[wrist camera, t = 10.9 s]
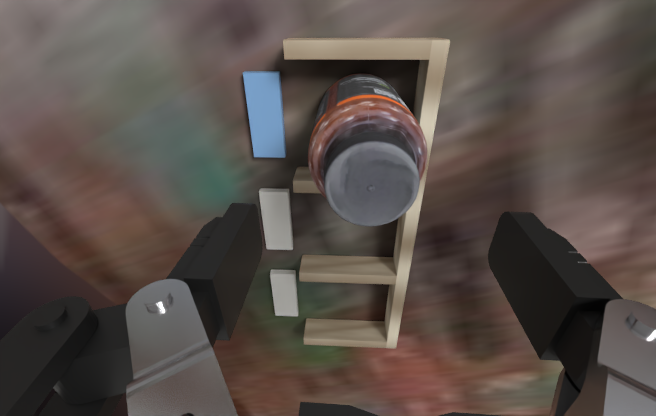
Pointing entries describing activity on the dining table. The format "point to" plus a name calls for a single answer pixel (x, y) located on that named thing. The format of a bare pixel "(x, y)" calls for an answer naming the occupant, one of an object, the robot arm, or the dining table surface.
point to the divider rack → (398, 266)
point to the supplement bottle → (366, 151)
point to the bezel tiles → (274, 202)
